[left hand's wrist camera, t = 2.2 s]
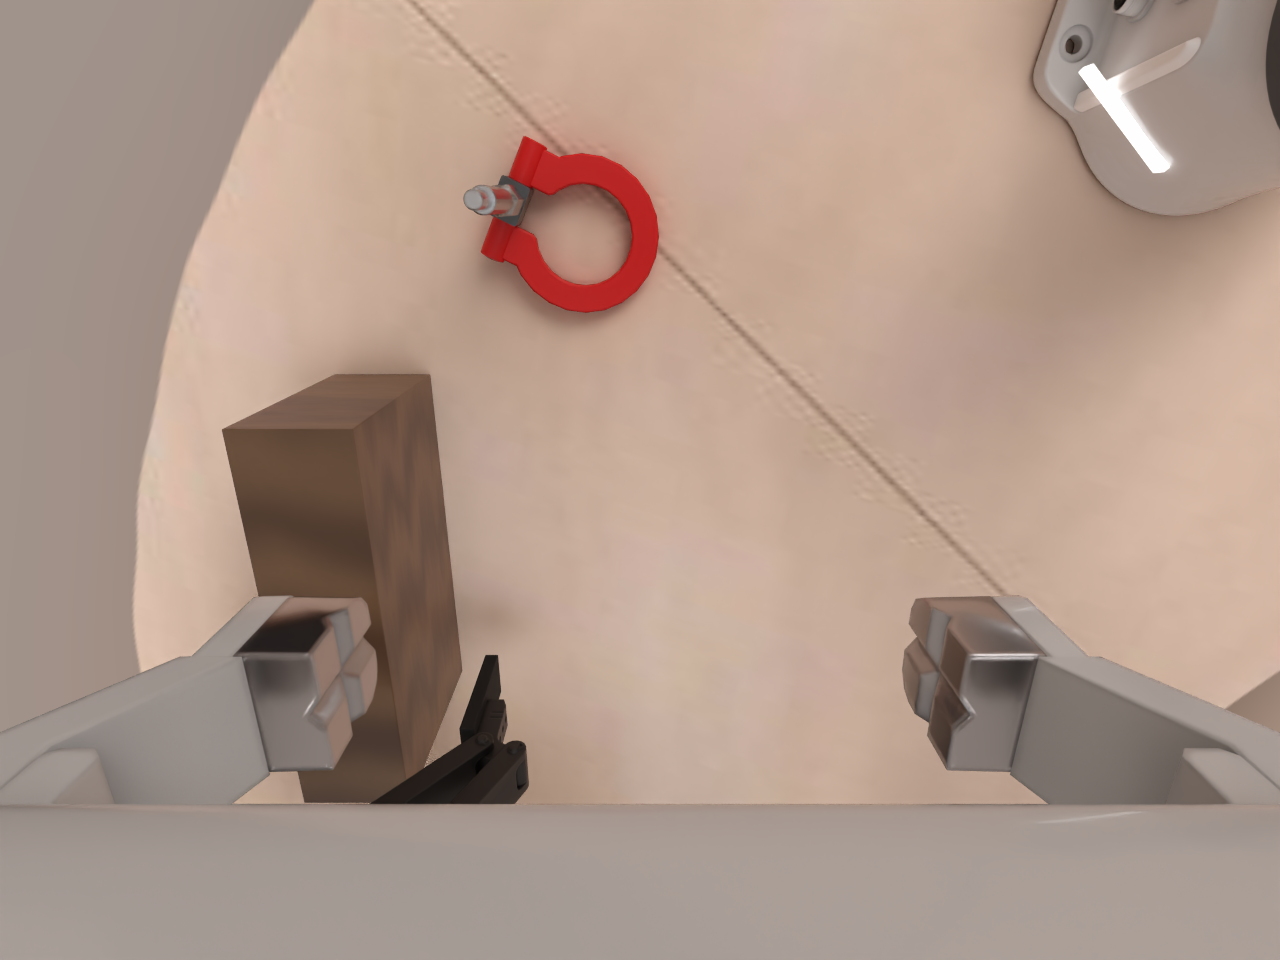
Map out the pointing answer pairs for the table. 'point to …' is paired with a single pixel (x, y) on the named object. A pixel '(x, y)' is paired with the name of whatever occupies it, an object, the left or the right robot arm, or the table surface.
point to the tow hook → (549, 178)
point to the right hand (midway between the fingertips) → (384, 672)
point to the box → (359, 552)
